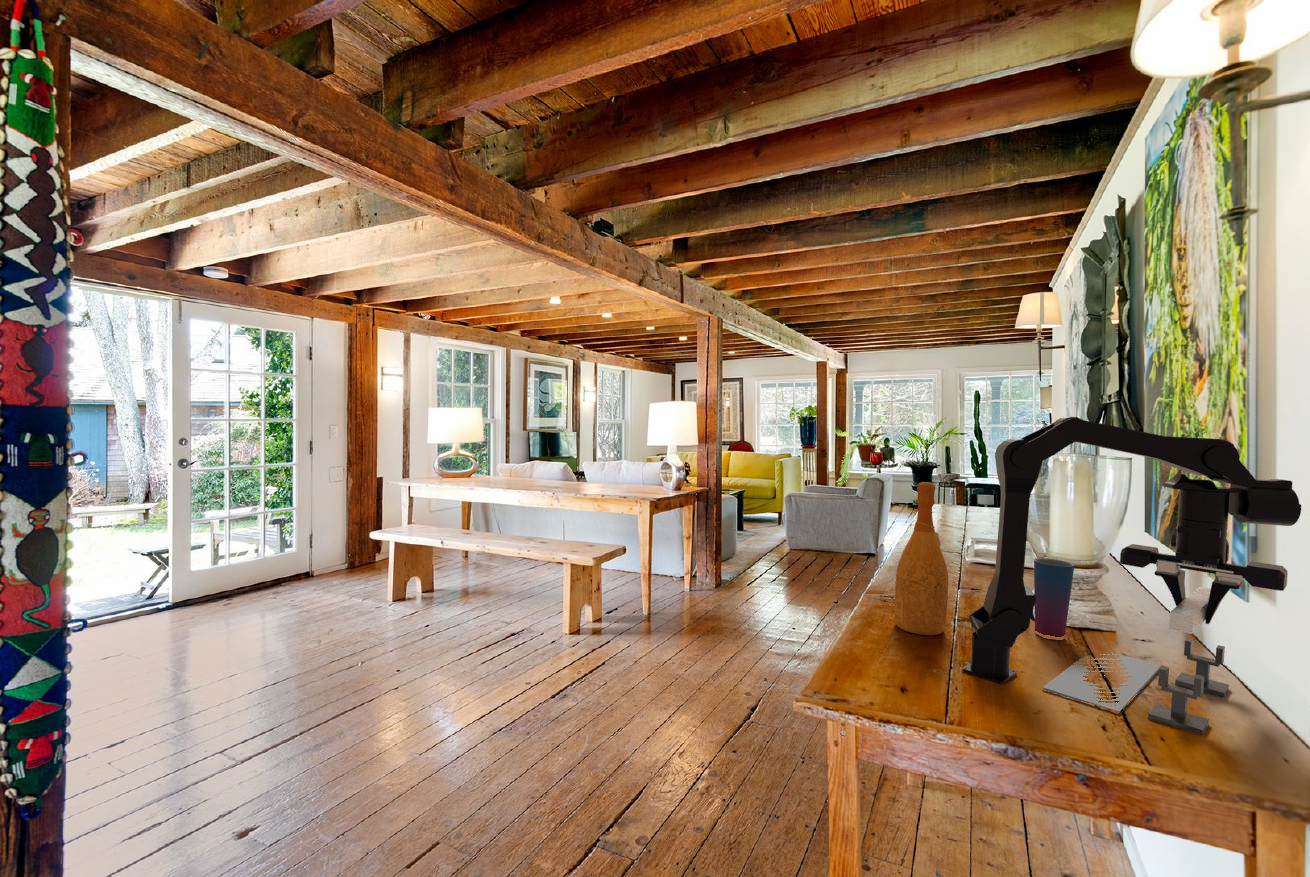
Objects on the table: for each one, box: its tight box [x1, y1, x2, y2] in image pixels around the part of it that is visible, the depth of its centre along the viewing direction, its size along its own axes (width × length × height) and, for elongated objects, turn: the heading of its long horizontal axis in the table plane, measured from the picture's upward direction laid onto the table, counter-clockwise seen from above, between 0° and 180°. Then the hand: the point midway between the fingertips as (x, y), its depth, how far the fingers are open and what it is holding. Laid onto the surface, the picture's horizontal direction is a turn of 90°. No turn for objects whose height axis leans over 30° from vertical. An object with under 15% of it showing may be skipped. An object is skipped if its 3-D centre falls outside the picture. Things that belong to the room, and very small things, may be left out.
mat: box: [1042, 652, 1162, 712], centre depth 104 cm, size 28×10×1 cm, turn 131°
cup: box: [1033, 557, 1075, 637], centre depth 124 cm, size 7×7×15 cm
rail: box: [1168, 586, 1211, 635], centre depth 95 cm, size 23×2×2 cm, turn 131°
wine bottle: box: [894, 481, 949, 636], centre depth 125 cm, size 10×10×30 cm
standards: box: [1147, 637, 1230, 736], centre depth 95 cm, size 24×6×7 cm, turn 131°
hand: (1195, 620), depth 95 cm, fingers closed on rail, 2 cm apart
